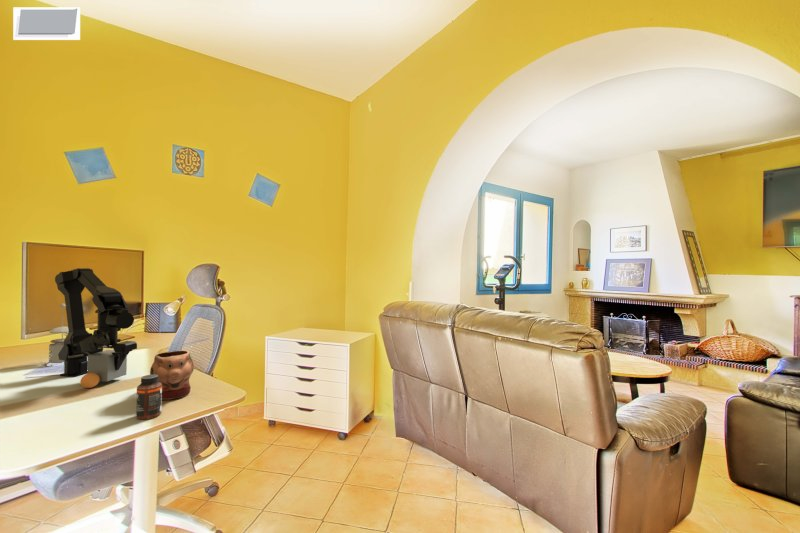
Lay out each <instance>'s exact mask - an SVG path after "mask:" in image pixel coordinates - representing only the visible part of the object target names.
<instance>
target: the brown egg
mask: <svg viewBox="0 0 800 533" xmlns="http://www.w3.org/2000/svg"><path fill="white" fill-rule="evenodd" d="M99 380H100V378H99V376H98V375H97V374H95V373H85V374H83V376H82V377H80V380H79V382H80V386H82V388H85V389H91V388H94V387H96V386H97V385H98V384H99V382H100V381H99Z"/></svg>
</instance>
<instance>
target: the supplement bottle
mask: <svg viewBox="0 0 800 533" xmlns="http://www.w3.org/2000/svg"><path fill="white" fill-rule="evenodd" d="M140 378H141V379H140V382H141V383H140V384H138V386H137V387H136V407H135V408H136V411H135V412H136V413H135V414H136V418H137V419H139V420H149V419H153V418H157V417H158V416H160V415H161V414H162V409H163V408H162V407H163V406H162V404H163V403H162V402H163V399H162V384H161V382H159V381H158V375H156V374H153V375H150V374H147V375H144V376H142V377H140Z"/></svg>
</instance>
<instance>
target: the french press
mask: <svg viewBox="0 0 800 533" xmlns="http://www.w3.org/2000/svg"><path fill="white" fill-rule="evenodd" d="M59 307H62V309H61V312H62V315H61V316H62V317H61V318H62V319H61V326H59V327H54V328H52V329H51V330H48V331H49V333H50V334H61V338H55V339H52V340H50V344H49V345H48V362H47V363H46V364H48V363H62V362H64V361H63V360H59V357H58V354H59V352H60V350H61V349H62V347H63V346H64V340H65V338H66V337H67V335H68V333H69V330H68V326H64V307H65V308H66V305H65V303H60V304H59ZM63 335H64V336H65V337H64V338H63Z"/></svg>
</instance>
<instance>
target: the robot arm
mask: <svg viewBox="0 0 800 533" xmlns="http://www.w3.org/2000/svg"><path fill="white" fill-rule="evenodd" d="M54 282H55V284H56V287H57V290H58V291H59V292H60V293H61V294H62V295H63V296H64V304H65V305H66V306H65V313H66V321H67V327H68V330H69V332H68V333H67V337H66V336H65V337H64V338H65V340H64V346H63V347H62V349H61V350H60V352H59V354H58V357H59V360H63V361H64V365H63V366H64V367H63V368H64V370H63V371H64V372H63V373H60V374H59V376H61V377H78V376H81V375H86V374H88V371H87V370H88V355H90V354H94V353H98V352H102V351H104V349H112V350H114V351H115V352H113V353H112V354H113V355H114V356H115V370H119V368H120V367H121V365H122V363H123V361H124V360H125V358H126V356H127V357H128V355H129V353H130V352H132V351H133V350H137V349H138V343H137V342H136V341H134V340H133V341H132V340H125V341H121V338H118V336H119V334H118V332H121V330H126V329H128V328H130V327H131V326H133V324H134V322H135V316H134V315H133V314H132V313H130V312H129V308H128V304H127V302H126V301H125V299H124V296H123V294H122V293H121V292H120V291H119V290H117V289H116V288H113V287H110V286H107V285H106V284H105V283H104V282H103V281H102V280H101V279H100V278H99V277H98V276H97V275H96V274H95V273H94V270H93V269H92V268H90V267H89V268H88V267H87V268H86V267H85V268H83V267H82V268H81V267H79V268H78V267H77V268H74V269H71V270H66V271H59V272H58V274H56V275H55V277H54ZM85 289H86V290H87V291H89V293H90V294H91V295H92V298H91V299H92V300H91V301H92V302H93V304H94V306H95V307H96V310H95V311H94V313H95V314H97V329H94V330H93V333H91V332H88V331H87V330H86V322H85V315H84V314H85V313H84V305H83V297H82V296H83V295H82V293H83V291H84V290H85Z"/></svg>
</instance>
